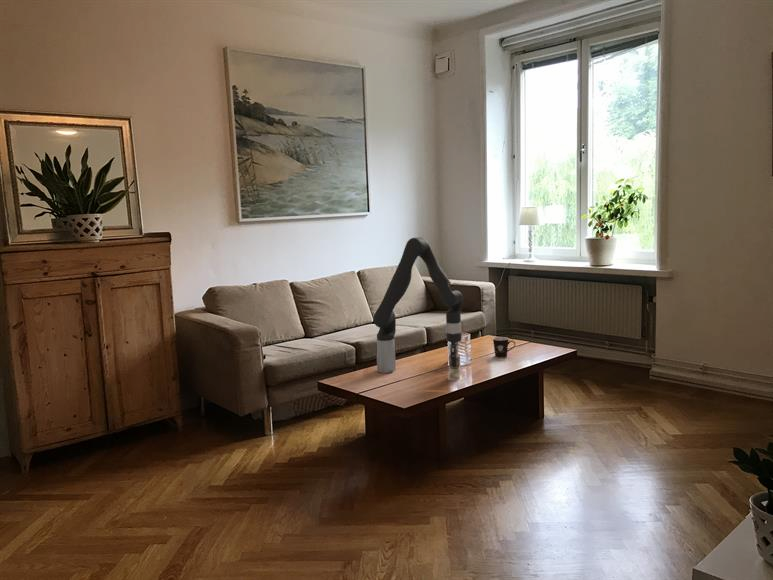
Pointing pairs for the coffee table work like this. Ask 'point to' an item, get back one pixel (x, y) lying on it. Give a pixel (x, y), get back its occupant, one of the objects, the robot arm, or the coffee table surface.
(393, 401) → the coffee table surface
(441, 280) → the robot arm
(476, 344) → the coffee table surface
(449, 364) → the walnut cube
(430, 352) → the coffee table surface
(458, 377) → the birch base cube
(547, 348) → the coffee table surface
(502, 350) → the coffee mug
